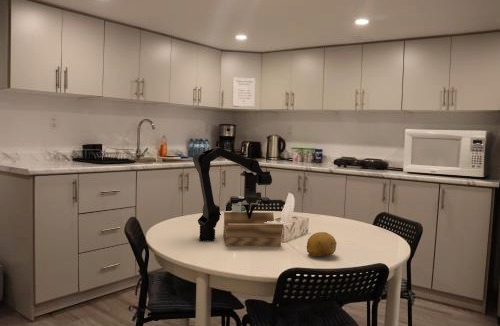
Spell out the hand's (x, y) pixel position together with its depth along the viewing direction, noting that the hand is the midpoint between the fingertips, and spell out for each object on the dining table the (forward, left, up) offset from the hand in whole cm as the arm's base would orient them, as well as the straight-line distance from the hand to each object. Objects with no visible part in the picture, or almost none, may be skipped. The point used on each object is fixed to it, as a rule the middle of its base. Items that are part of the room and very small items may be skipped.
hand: (249, 218), depth 203 cm
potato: (+26, -32, -9) cm, 42 cm away
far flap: (0, 0, -1) cm, 1 cm away
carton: (0, -10, -8) cm, 13 cm away
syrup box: (-2, +23, -9) cm, 25 cm away
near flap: (0, -19, -1) cm, 19 cm away
